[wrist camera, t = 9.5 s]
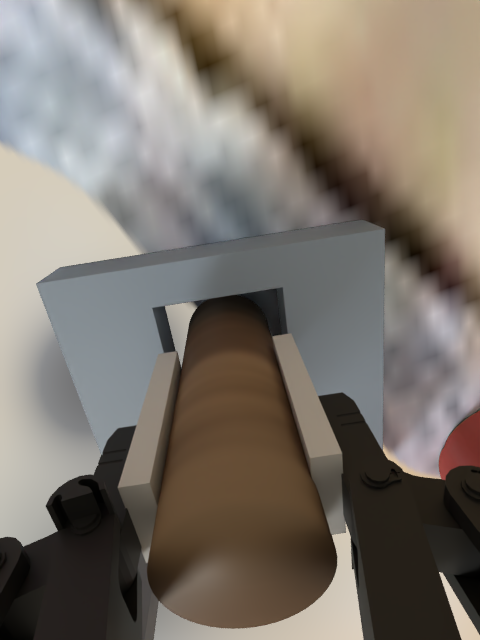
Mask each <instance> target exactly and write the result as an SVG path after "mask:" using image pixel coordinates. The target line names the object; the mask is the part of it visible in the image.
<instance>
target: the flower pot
mask: <svg viewBox="0 0 480 640" xmlns="http://www.w3.org/2000/svg"><path fill="white" fill-rule="evenodd" d="M469 465H472V466H477V467H480V410H479V411H478V412H476V413H474V414H473V415H471V416H470V417H468V418H467V419H465V420H464V421H463V422H462V423H460V424H459V425H458V426H457V427H456V428H455V429H454V430H453V432H452V433H451V434H450V436H449V437H448V439H447V441H446V444H445V447H444V448H443V449H442V451H441V454H440V458H439V472H440V476H441V478H442V480H445V478H446V475H447V474H448V472H449V471H450V470H451V469H453V468H456V467H458V466H469Z"/></svg>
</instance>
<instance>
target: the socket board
mask: <svg viewBox="0 0 480 640" xmlns="http://www.w3.org/2000/svg"><path fill="white" fill-rule="evenodd" d="M384 269H385V229H384V228H382V227H379V226H377V225H374V224H372V223H369V222H367V221H364V220H357V221H350V222H344V223H338V224H331V225H325V226H319V227H312V228H306V229H300V230H293V231H287V232H281V233H274V234H268V235H262V236H255V237H249V238H243V239H236V240H230V241H224V242H217V243H211V244H205V245H198V246H192V247H186V248H179V249H173V250H167V251H160V252H154V253H148V254H141V255H135V256H129V257H123V258H116V259H110V260H104V261H97V262H91V263H85V264H78V265H72V266H66V267H60V268H59V269H57V270H56V271H54V272H53V273H51V274H50V275H49V276H47V277H45V278H44V279H42V280H41V281H40V282H38V283H37V284H36V285H37V288H38V290H39V293H40V296H41V298H42V301H43V303H44V306H45V309H46V311H47V314H48V317H49V319H50V322H51V324H52V327H53V330H54V332H55V335H56V337H57V340H58V343H59V345H60V348H61V351H62V353H63V356H64V358H65V361H66V364H67V366H68V369H69V371H70V374H71V377H72V379H73V382H74V384H75V387H76V390H77V392H78V395H79V398H80V400H81V403H82V405H83V408H84V410H85V413H86V416H87V419H88V421H89V424H90V426H91V429H92V432H93V434H94V437H95V439H96V442H97V445H98V447H99V450H100V453H101V455H103V453H102V452H103V450H104V447H105V445H106V442H107V440H108V439H109V438H110V436H111V435H112V434H113V433H114V432H115V431H116V430H117V429H118V428H122V427H128V426H135V425H137V423H138V419H139V416H140V413H141V409H142V406H143V403H144V399H145V396H146V393H147V390H148V386H149V383H150V380H151V376H152V373H153V370H154V367H155V363H156V360H157V357H158V354H162V353H168V352H175V347H174V343H173V339H172V335H171V331H170V326H169V322H168V318H167V314H166V310H165V306H166V305H173V304H179V303H186V302H192V301H199V300H205V299H211V298H218V297H224V296H230V295H237V294H243V293H249V292H256V291H262V290H268V289H275V288H276V289H277V298H278V307H279V316H280V325H281V334H282V335H284V334H290V333H291V334H292V336H293V339H294V341H295V343H296V346H297V348H298V350H299V353H300V355H301V358H302V360H303V362H304V365H305V367H306V369H307V372H308V374H309V376H310V379H311V381H312V383H313V386H314V388H315V391H316V393H317V395H318V396H321V395H328V394H334V393H341V392H343V393H344V394H346V395H347V396H348V397H350V398H351V399H353V400H354V401H355V403H356V405H357V407H358V408H359V410H360V413H361V414H362V415H363V417H364V419H365V421H366V423H367V424H368V426H369V428H370V429H371V431H372V433H373V435H374V437H375V438H376V440H377V442H378V444H379V445H380V447H381V449H382V451H383V370H384ZM147 565H148V563H146V561H145V559H144V556H143V554H142V551H141V553H140V558H139V563H138V569H139V572H140V575H141V580H142V640H153V639H154V632H155V623H156V617H157V609H158V601H159V600H158V599H157V598H156V596H155V595H154V594H153V592H152V590H151V588H150V585H149V582H148V578H147Z"/></svg>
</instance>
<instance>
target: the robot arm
mask: <svg viewBox="0 0 480 640" xmlns="http://www.w3.org/2000/svg"><path fill="white" fill-rule="evenodd" d="M272 338H273V346H274V352H275V355H276V359H277V362H278V365H279V369H280V372H281V376H282V379H283V382H284V386H285V389H286V392H287V396H288V399H289V403H290V406H291V409H292V413H293V416H294V420H295V423H296V426H297V430H298V433H299V436H300V440H301V443H302V447H303V450H304V453H305V457H306V460H307V463H308V467H309V470H310V474H311V477H312V479H313V481H314V483H315V484H316V487H317V489H318V492H319V495H320V499H321V502H322V505H323V509H324V512H325V515H326V519H327V522H328V525H329V528H330V532H331V535H333V534H339V533H346V526H345V521H346V524H347V526H348V529H349V532H350V535H351V554H352V569H354V572H355V579H356V587H357V594H358V601H359V609H360V615H361V623H362V630H363V637H364V640H461V637H460V634H459V631H458V628H457V625H456V622H455V619H454V616H453V613H452V610H451V607H450V604H449V601H448V598H447V595H446V592H445V589H444V587H443V583H442V580H441V577H440V574H439V572H442V573H443V574H444V576H445V577H446V579H447V581H448V582H449V584H450V586H451V587H452V589H453V591H454V592H455V594H456V596H457V598H458V599H459V601H460V603H461V604H462V606H463V608H464V609H465V611H466V613H467V614H468V616H469V618H470V619H471V621H472V623H473V624H474V626H475V627H476V629H477V631H478V633H479V634H480V467H477V466H472V465H469V466H458V467H456V468H453V469H451V470H450V471H449V472H448V474H447V475H446V478H445V480H442V479H433V478H424V477H418V476H413V475H411V474H408V473H405V472H403V470H402V469H401V468H400V467H399V466H398V465H396V464H395V463H394V462H392V461H390V460H388V459H387V458H386V456H385V454H384V452H383V451H382V449H381V447H380V445H379V444H378V442H377V440H376V438H375V437H374V435H373V433H372V431H371V429H370V428H369V426H368V424H367V423H366V421H365V419H364V417H363V415H362V414H361V413H360V410H359V408H358V407H357V405H356V403H355V401H354V400H353V399H351V398H350V397H348V396H347V395H346V394H344V393H343V392H341V393H334V394H328V395H321V396H318V395H317V393H316V391H315V388H314V386H313V383H312V381H311V379H310V376H309V374H308V372H307V369H306V367H305V365H304V362H303V360H302V358H301V355H300V353H299V350H298V348H297V346H296V343H295V341H294V339H293V336H292V334H291V333H290V334H284V335H277V336H272ZM180 375H181V365H180V361H179V357H178V353H177V351H175V352H168V353H162V354H158V357H157V360H156V363H155V367H154V370H153V373H152V376H151V380H150V383H149V386H148V390H147V393H146V396H145V399H144V403H143V406H142V409H141V413H140V416H139V419H138V423H137V425H135V426H128V427H122V428H118V429H117V430H116V431H115V432H114V433H113V434H112V435H111V436H110V438H109V439H108V440H107V442H106V445H105V447H104V450H103V452H102V453H103V455H101V457H100V460H99V463H98V464H99V465H98V466H97V468H96V470H95V473H94V475H84V476H79V477H77V478H74V479H72V480H70V481H68V482H66V483H65V484H63V485H62V486H61V487H59V488H58V489H57V490H56V491H55V492H54V493H53V494H52V496H51V497H50V499H49V501H48V503H47V505H46V507H47V510H48V511H49V514H50V516H51V518H52V520H53V522H54V523H55V526H56V528H57V530H58V531H57V532H55V533H53V534H52V535H49V536H47V537H45V538H43V539H40V540H38V541H36V542H33V543H31V544H29V545H26V546H24V547H23V546H22V544H21V542H19V541H18V540H17V539H16V538H12V537H4V538H0V640H142V580H141V575H140V572H139V569H138V563H139V558H140V553H141V551H142V554H143V556H144V559H145V561H146V563H148V558H149V552H150V547H151V541H152V535H153V529H154V524H155V518H156V512H157V506H158V501H159V495H160V489H161V484H162V478H163V472H164V466H165V461H166V455H167V449H168V443H169V438H170V432H171V426H172V420H173V415H174V409H175V403H176V398H177V392H178V386H179V380H180Z"/></svg>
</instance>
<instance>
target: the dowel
mask: <svg viewBox="0 0 480 640" xmlns="http://www.w3.org/2000/svg"><path fill="white" fill-rule="evenodd" d="M336 568H337V553H336V549H335V545H334V542H333V538H332V535H331V532H330V528H329V525H328V522H327V519H326V515H325V512H324V509H323V505H322V502H321V499H320V495H319V492H318V489H317V487H316V484H315V483H314V481H313V479H312V477H311V474H310V470H309V467H308V463H307V460H306V457H305V453H304V450H303V447H302V443H301V440H300V436H299V433H298V430H297V426H296V423H295V420H294V416H293V413H292V409H291V406H290V403H289V399H288V396H287V392H286V389H285V386H284V382H283V379H282V376H281V372H280V369H279V365H278V362H277V359H276V355H275V352H274V346H273V340H272V337H271V334H270V330H269V327H268V324H267V320H266V318H265V315H264V313H263V312H262V310H261V309H260V308H259V307H258V306H257V305H256V304H255V303H254V302H253V301H251V300H249V299H248V298H245V297H243V296H240V295H230V296H224V297H218V298H211V299H208V300H206V301H205V302H203V303H202V304H201V305H200V306H199V307H198V308H197V309H196V310H195V312H194V313H193V315H192V317H191V320H190V323H189V329H188V334H187V340H186V346H185V352H184V358H183V363H182V369H181V375H180V380H179V386H178V392H177V398H176V403H175V409H174V415H173V420H172V426H171V432H170V438H169V443H168V449H167V455H166V461H165V466H164V472H163V478H162V484H161V489H160V495H159V501H158V506H157V512H156V518H155V524H154V529H153V535H152V541H151V547H150V552H149V558H148V565H147V578H148V582H149V585H150V588H151V590H152V592H153V594H154V595H155V596H156V598H157V599H158V600H159V601H160V602H161V603H162V604H163V605H164V606H165V607H166V608H167V609H169V610H170V611H171V612H173V613H175V614H176V615H178V616H180V617H182V618H184V619H187V620H189V621H192V622H195V623H198V624H202V625H206V626H211V627H219V628H249V627H257V626H262V625H267V624H271V623H275V622H278V621H281V620H284V619H286V618H289V617H291V616H293V615H295V614H297V613H299V612H301V611H302V610H304V609H306V608H307V607H309V606H310V605H311V604H313V603H314V602H315V601H316V600H317V599H318V598H319V597H321V596H322V594H323V593H324V592H325V591H326V590H327V588H328V587H329V585H330V584H331V582H332V580H333V577H334V575H335V572H336Z"/></svg>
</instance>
